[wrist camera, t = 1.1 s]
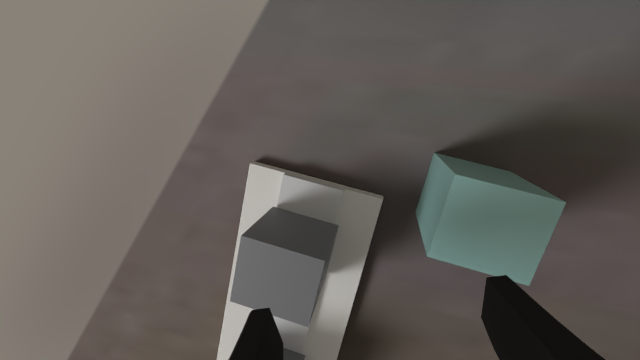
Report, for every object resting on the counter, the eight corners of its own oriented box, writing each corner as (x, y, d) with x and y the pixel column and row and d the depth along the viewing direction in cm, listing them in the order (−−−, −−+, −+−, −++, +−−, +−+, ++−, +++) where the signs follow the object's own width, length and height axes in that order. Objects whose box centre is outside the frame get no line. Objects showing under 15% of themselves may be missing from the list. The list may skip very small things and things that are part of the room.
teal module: (509, 171, 20) (566, 202, 14) (486, 231, 21) (528, 285, 15) (434, 152, 20) (455, 174, 14) (415, 212, 21) (427, 256, 15)
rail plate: (383, 195, 21) (381, 231, 15) (322, 406, 26) (303, 496, 20) (254, 161, 23) (206, 182, 17) (218, 368, 27) (171, 442, 21)
